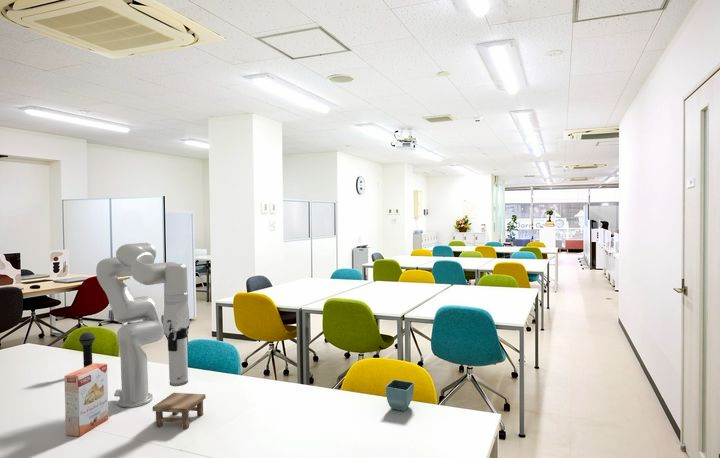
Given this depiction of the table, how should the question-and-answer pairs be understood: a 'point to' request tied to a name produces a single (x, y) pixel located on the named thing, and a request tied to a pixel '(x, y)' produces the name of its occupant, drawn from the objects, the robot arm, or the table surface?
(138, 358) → the robot arm
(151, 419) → the table surface
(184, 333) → the travel mug
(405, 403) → the flower pot
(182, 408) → the stool
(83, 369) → the cracker box
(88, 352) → the microphone
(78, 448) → the table surface
